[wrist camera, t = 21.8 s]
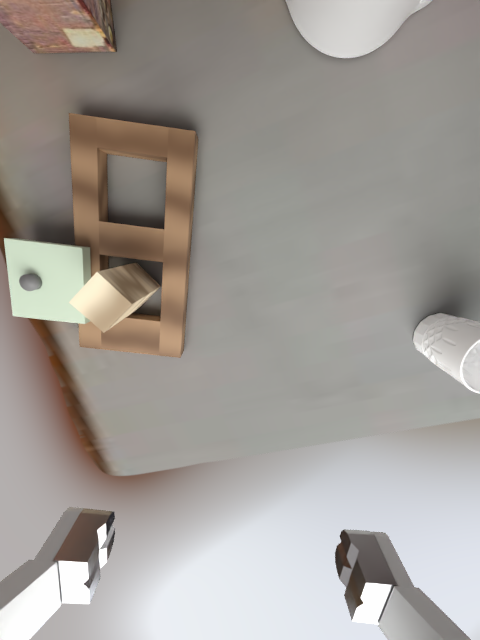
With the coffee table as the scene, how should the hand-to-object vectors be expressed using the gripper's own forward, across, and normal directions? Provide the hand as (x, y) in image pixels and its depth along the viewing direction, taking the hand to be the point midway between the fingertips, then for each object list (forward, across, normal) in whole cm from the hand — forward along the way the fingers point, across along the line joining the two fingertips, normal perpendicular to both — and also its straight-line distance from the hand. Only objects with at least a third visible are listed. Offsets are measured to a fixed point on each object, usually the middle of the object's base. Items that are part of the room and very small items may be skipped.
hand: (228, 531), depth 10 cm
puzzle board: (+31, +14, -7) cm, 35 cm away
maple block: (+31, +14, -2) cm, 34 cm away
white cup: (+31, -30, 0) cm, 43 cm away
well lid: (+28, +23, -2) cm, 37 cm away
